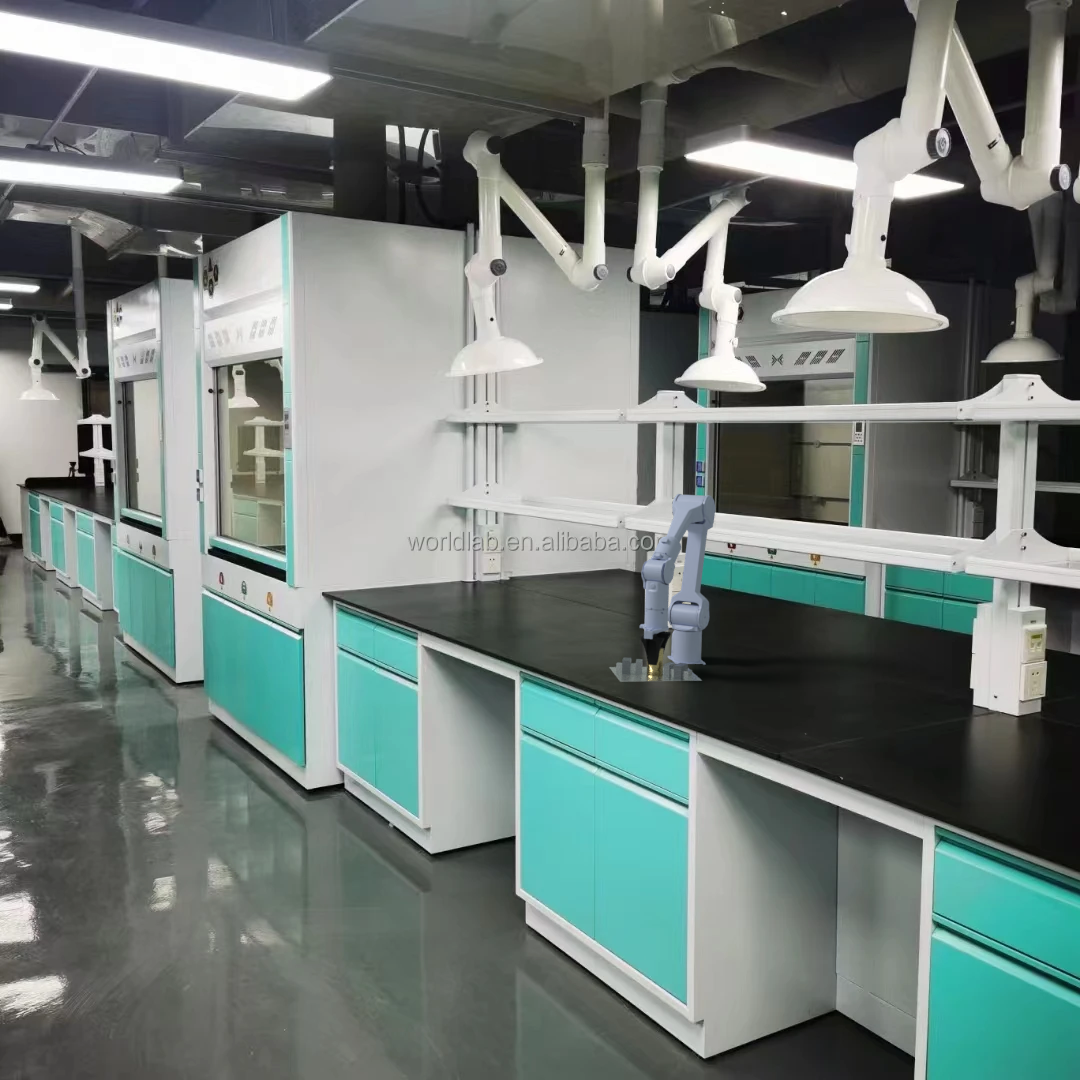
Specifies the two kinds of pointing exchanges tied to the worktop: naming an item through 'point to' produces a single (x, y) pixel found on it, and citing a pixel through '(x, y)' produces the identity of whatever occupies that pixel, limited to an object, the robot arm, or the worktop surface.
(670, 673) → the shaft rig
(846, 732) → the worktop surface
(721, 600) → the worktop surface
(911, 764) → the worktop surface
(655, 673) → the cylinder
